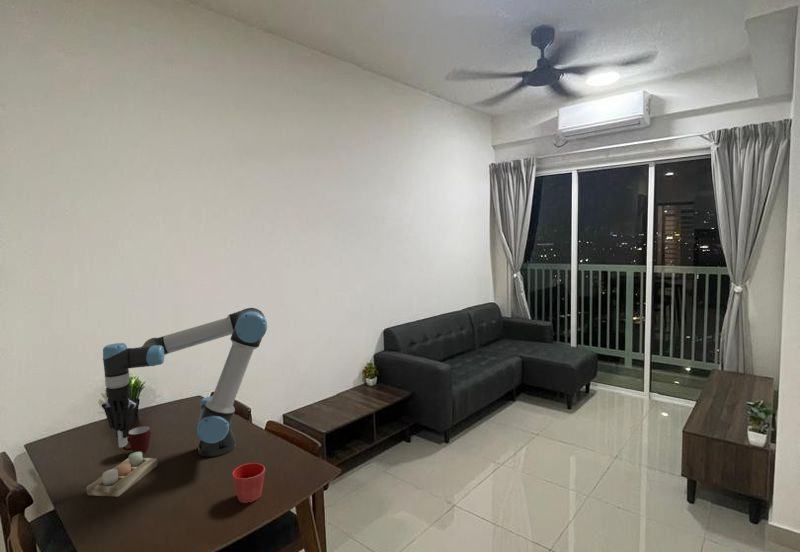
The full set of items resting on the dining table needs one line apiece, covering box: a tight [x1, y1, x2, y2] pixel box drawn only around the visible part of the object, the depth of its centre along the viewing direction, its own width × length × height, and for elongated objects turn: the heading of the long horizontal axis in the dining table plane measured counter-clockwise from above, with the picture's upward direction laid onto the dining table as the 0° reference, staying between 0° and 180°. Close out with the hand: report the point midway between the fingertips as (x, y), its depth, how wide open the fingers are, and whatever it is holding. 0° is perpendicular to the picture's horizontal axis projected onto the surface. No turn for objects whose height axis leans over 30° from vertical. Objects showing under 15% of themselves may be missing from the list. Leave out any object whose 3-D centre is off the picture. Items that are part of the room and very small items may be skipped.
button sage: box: [128, 452, 144, 467], centre depth 168 cm, size 5×5×4 cm
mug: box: [122, 425, 152, 455], centre depth 181 cm, size 10×8×10 cm
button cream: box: [101, 468, 118, 486], centre depth 155 cm, size 5×5×4 cm
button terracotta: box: [116, 463, 131, 476], centre depth 161 cm, size 5×5×4 cm
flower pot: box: [231, 462, 266, 504], centre depth 149 cm, size 11×11×10 cm
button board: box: [86, 457, 158, 498], centre depth 161 cm, size 12×21×3 cm, turn 175°
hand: (123, 445), depth 161 cm, fingers closed
